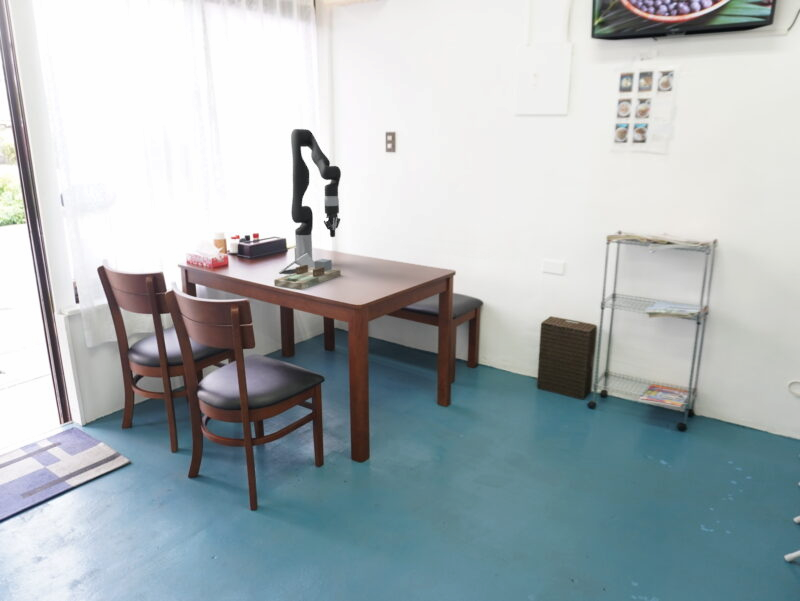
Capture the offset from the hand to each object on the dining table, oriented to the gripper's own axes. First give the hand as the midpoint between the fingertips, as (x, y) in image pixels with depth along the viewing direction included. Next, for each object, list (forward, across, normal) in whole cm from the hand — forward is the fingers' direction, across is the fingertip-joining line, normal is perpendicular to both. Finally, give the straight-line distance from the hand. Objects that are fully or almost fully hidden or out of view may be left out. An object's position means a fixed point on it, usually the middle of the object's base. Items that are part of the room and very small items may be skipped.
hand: (332, 236), depth 306 cm
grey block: (+16, +10, 0) cm, 19 cm away
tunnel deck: (+19, +22, 0) cm, 30 cm away
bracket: (+20, +6, -20) cm, 28 cm away
